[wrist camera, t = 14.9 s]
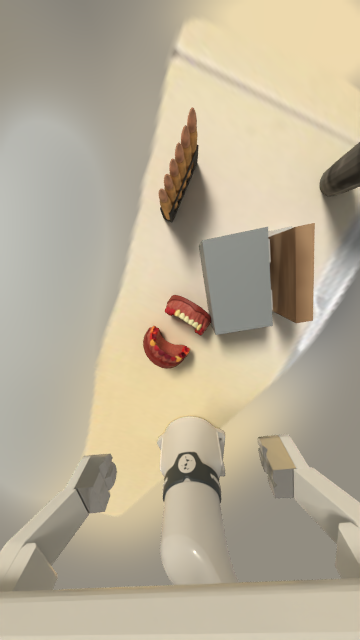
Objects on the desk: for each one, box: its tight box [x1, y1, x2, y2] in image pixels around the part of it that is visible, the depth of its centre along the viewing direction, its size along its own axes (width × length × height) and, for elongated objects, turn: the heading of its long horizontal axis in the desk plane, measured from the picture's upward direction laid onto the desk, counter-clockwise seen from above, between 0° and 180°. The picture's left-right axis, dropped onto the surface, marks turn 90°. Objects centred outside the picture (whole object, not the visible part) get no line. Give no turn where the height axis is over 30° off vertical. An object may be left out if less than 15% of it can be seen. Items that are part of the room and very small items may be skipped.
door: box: [268, 223, 315, 323], centre depth 31 cm, size 4×14×10 cm, turn 11°
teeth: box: [143, 295, 211, 368], centre depth 37 cm, size 10×8×15 cm
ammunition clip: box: [159, 107, 198, 222], centre depth 27 cm, size 11×2×12 cm, turn 154°
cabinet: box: [199, 227, 292, 335], centre depth 33 cm, size 16×18×8 cm
